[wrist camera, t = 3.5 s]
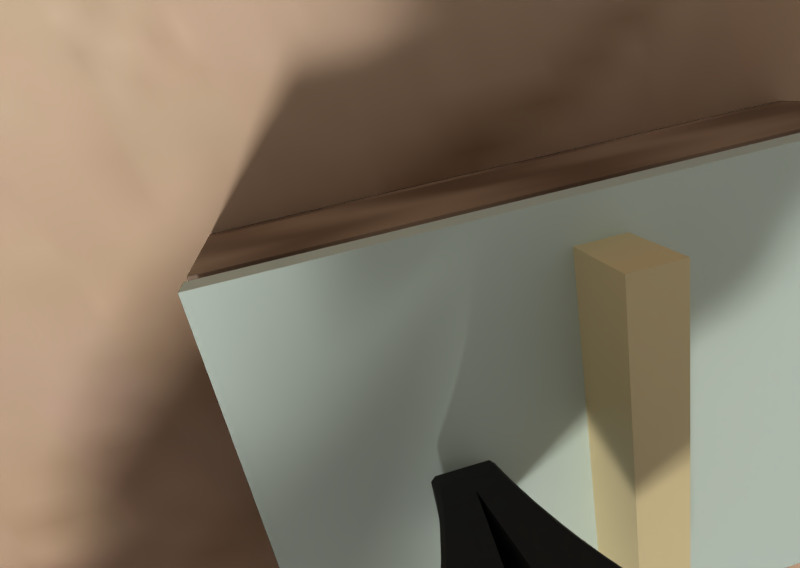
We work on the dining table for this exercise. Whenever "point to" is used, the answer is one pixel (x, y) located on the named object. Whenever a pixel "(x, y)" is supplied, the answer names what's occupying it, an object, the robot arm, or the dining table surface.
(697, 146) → the box
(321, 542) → the lid
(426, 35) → the dining table surface
